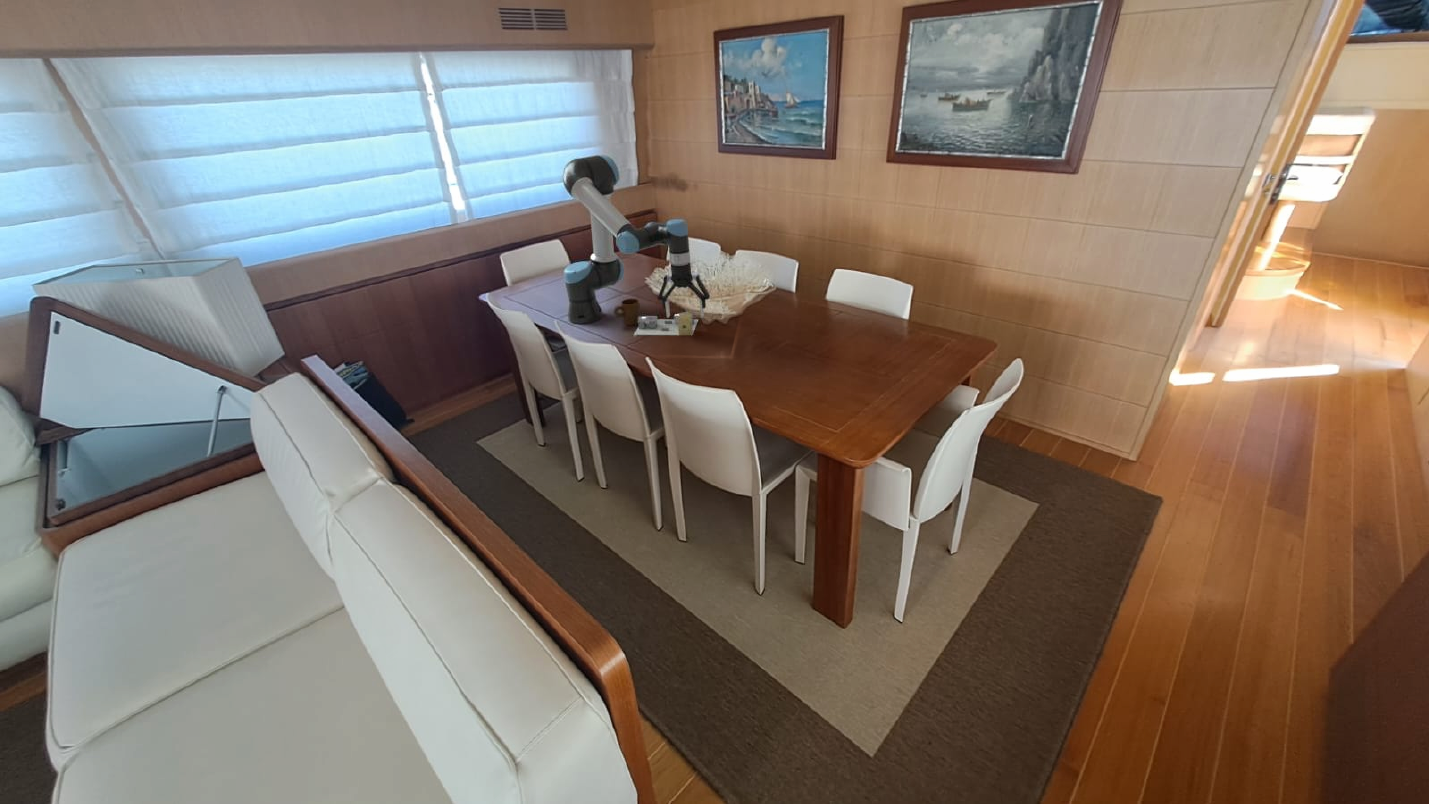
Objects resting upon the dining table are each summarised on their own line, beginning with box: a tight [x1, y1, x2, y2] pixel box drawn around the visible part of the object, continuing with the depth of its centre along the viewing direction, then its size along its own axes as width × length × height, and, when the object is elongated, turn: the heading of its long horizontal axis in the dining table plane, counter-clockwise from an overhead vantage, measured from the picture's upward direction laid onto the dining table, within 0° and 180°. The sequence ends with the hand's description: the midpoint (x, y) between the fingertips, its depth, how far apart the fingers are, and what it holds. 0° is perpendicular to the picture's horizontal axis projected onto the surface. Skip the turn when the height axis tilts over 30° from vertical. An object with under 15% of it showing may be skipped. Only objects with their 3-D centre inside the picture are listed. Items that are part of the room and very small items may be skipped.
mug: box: [613, 298, 642, 326], centre depth 229 cm, size 12×8×9 cm, turn 131°
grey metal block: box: [673, 310, 695, 326], centre depth 225 cm, size 8×5×5 cm, turn 112°
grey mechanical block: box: [637, 315, 658, 329], centre depth 224 cm, size 8×5×5 cm, turn 82°
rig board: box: [633, 318, 699, 338], centre depth 224 cm, size 24×16×2 cm, turn 82°
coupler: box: [677, 313, 694, 336], centre depth 216 cm, size 5×5×7 cm
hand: (685, 316), depth 214 cm, fingers open, 13 cm apart
